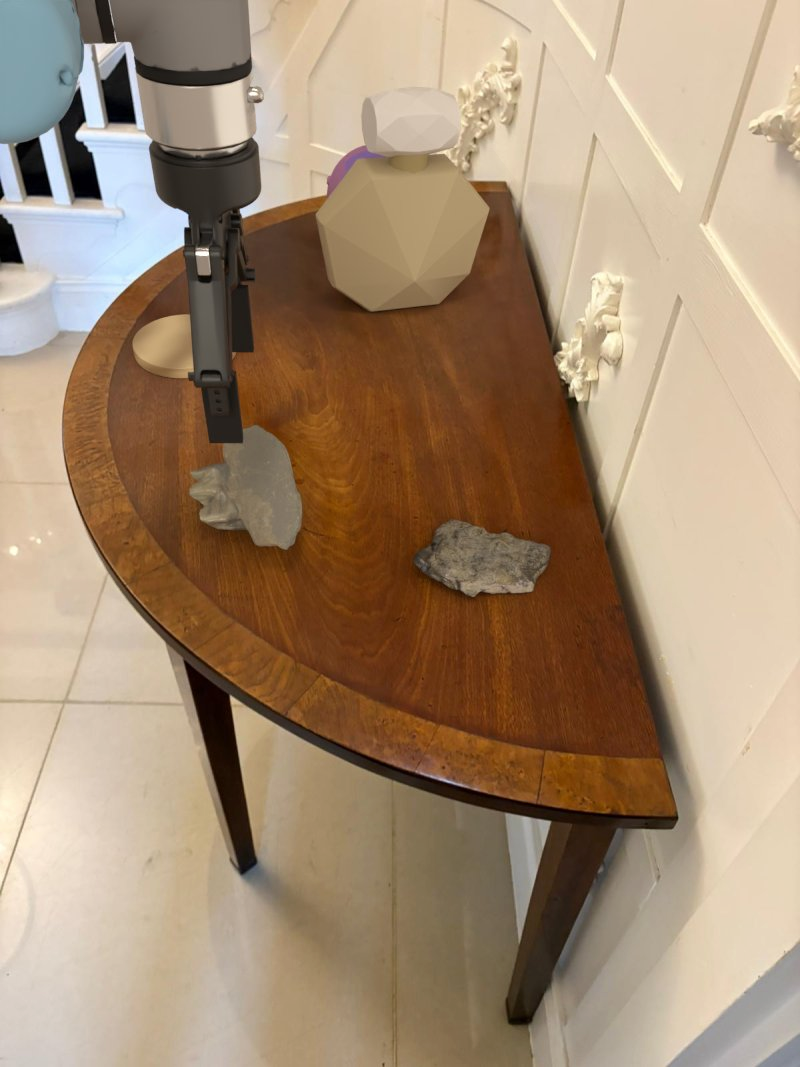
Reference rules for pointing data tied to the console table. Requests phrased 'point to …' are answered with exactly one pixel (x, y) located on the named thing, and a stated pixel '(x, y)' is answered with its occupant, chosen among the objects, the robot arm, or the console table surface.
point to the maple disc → (166, 347)
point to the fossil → (251, 490)
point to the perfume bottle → (403, 206)
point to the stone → (482, 560)
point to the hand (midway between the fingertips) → (233, 392)
